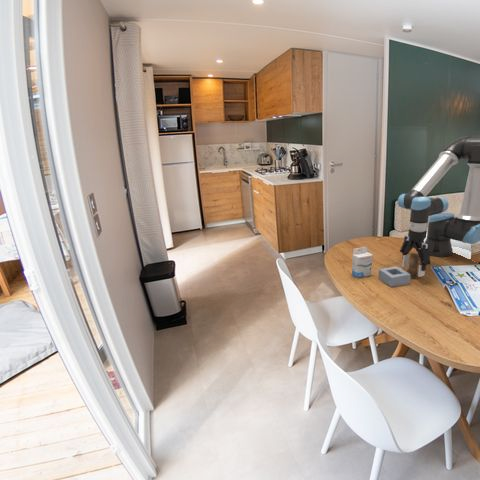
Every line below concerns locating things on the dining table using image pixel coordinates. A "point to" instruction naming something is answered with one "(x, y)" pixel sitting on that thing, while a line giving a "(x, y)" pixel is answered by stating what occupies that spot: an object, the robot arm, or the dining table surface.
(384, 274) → the socket
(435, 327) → the dining table surface
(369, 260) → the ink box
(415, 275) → the peg
